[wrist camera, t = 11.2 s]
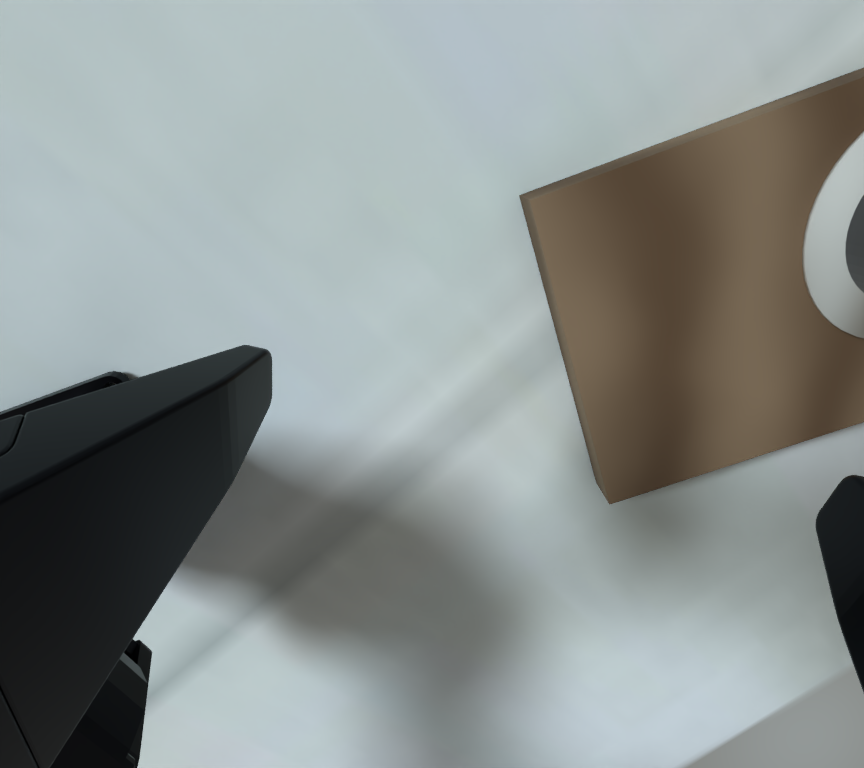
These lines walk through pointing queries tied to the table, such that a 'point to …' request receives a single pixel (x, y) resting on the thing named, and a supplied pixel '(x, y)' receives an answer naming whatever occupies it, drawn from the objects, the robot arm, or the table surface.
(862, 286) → the dark grey cylinder
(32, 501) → the robot arm
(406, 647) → the table surface
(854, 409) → the mount board
